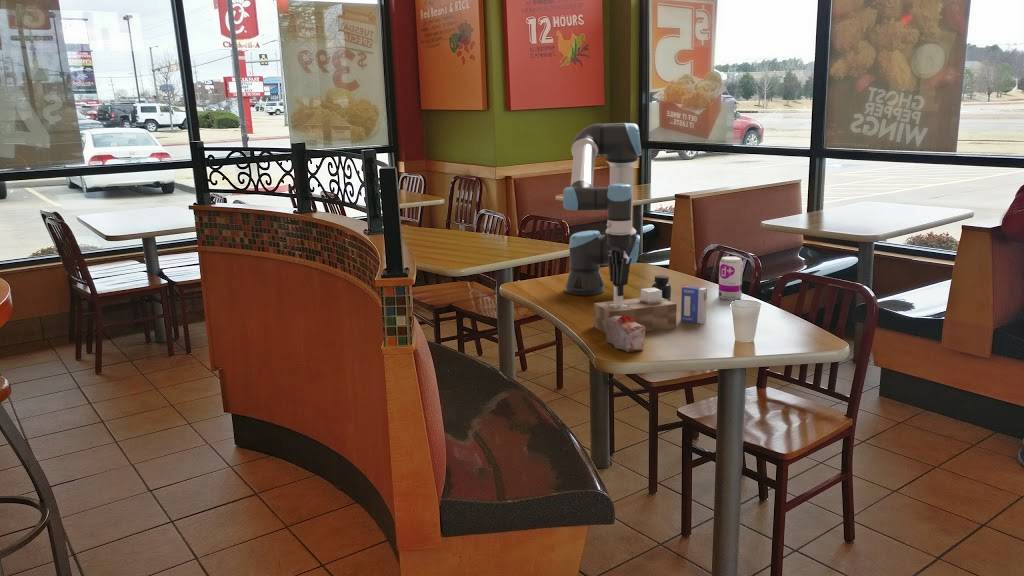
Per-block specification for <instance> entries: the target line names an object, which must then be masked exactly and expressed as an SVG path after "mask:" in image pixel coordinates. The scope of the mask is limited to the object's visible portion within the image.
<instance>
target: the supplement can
mask: <svg viewBox="0 0 1024 576" xmlns="http://www.w3.org/2000/svg"><path fill="white" fill-rule="evenodd" d="M743 265H744V262H743V260H742V258H741V257H739V256H735V255H734V256H732V255H731V256H721V258H720V261H719V273H718V274H719V275H718V276H719V277H718V294H717V295H718V297H719V298H720V299H721V298H722V299H721V300H726V299H727V300H728V301H736V300H739V299H740V298H741V297H742V290H743V287H742V286H743V267H744V266H743Z"/></svg>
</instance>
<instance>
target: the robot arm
mask: <svg viewBox="0 0 1024 576" xmlns="http://www.w3.org/2000/svg"><path fill="white" fill-rule="evenodd" d="M570 151H571V152H570V153H571V156H572V157H573V158H572V159H573V160H572V168H571V177H570V186H569V187H568V186H567V187H565V188H563V193H562V197H563V198H562V202H563V203H562V205H563V209H565V210H566V211H576V212H577V211H607V223H606V227H607V228H606V229H605V234H601V233H600V231H599V230H596V229H595V230H585V231H579V232H575V233H573V234H571V236H570V237H569V246H568V248H569V273H568V275H567V278H566V281H565V285H564V291H566V292H567V293H566V292H565V293H566V294H569V293H570V294H569V295H574V296H596V295H600V294H602V293H604V292H605V284H604V281H603V278H602V275H601V272H600V269H601V268H600V266H608V272H609V281H610V282H612V285H613V301H614V305H615V306H619V305H623V300H624V286H627V285H628V283H629V281H628V280H629V277H630V276H629V274H630V268H631V266H632V265H633V266H634V265H635V264H636V263H637V262H638V261H637V260H638V258H639V257H638V256H639V251H640V243H641V242H640V240H641V235H640V234H637V230H636V228H634V227H633V211H634V210H633V207H634V206H633V204H634V203H633V201H634V165H635V164H636V163H637V162H638V158H639V157H640V156H642V154H643V153H642V144H641V136H640V128H639V126H638V124H636V123H633V122H632V123H631V122H629V123H628V122H613V123H611V122H610V123H593V124H591V125H588V126H586V127H584V128H583V129H582V130H581V131H580V132H578V134H576V135H575V137H574V139H573V141H572V144H571V149H570ZM597 156H598V157H605V162H606V163H607V164H608V165H609V185H608V186H594V177H595V176H594V175H595V174H594V173H595V161H596V158H597Z"/></svg>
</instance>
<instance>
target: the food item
mask: <svg viewBox="0 0 1024 576" xmlns="http://www.w3.org/2000/svg"><path fill="white" fill-rule="evenodd" d="M606 322H607V323H606V334H605V342H606V343H608V344H611V345H612V346H614V348H615V349H618V350H622V351H626V352H627V353H631V352H633V351H634V352H640V351H641V352H642V351H644V349H645V348H644V344H645V339H646V336H645V335H646V332H645V326H643V325H640V324H638V323H636V322H634V319H633V318H632V316H626V315H624V316H614V317H610V318H608V319H607V320H606Z"/></svg>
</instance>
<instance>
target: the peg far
mask: <svg viewBox="0 0 1024 576" xmlns="http://www.w3.org/2000/svg"><path fill="white" fill-rule="evenodd" d="M640 298H641V302H643V303H646V304H657V303H662V291H661V290H659V289H657V288H652V287H647V288H641V289H640Z"/></svg>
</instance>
